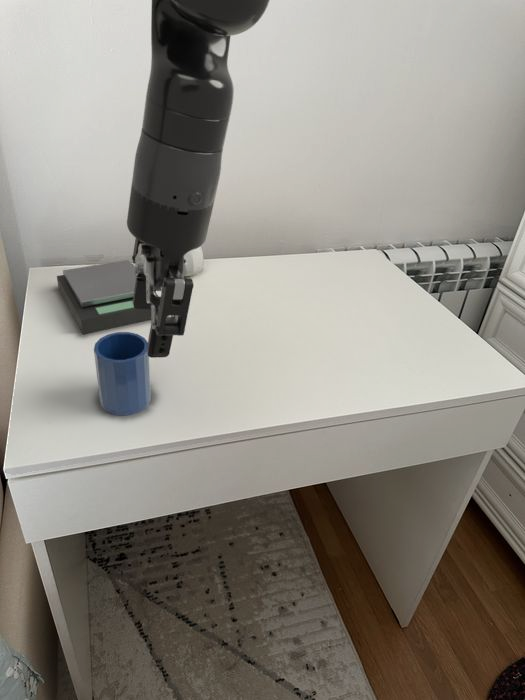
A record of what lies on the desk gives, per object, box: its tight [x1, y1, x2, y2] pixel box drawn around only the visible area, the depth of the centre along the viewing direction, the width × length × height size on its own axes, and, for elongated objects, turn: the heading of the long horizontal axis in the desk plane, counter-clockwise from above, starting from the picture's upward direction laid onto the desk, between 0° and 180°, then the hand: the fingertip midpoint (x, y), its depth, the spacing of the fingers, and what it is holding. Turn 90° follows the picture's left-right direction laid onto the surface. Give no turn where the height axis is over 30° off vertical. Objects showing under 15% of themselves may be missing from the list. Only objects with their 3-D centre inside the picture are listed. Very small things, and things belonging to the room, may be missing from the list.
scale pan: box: [62, 259, 138, 307], centre depth 93 cm, size 12×12×1 cm
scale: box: [56, 263, 159, 335], centre depth 94 cm, size 14×16×3 cm
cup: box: [93, 331, 152, 416], centre depth 72 cm, size 7×7×9 cm
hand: (149, 330), depth 58 cm, fingers open, 8 cm apart
